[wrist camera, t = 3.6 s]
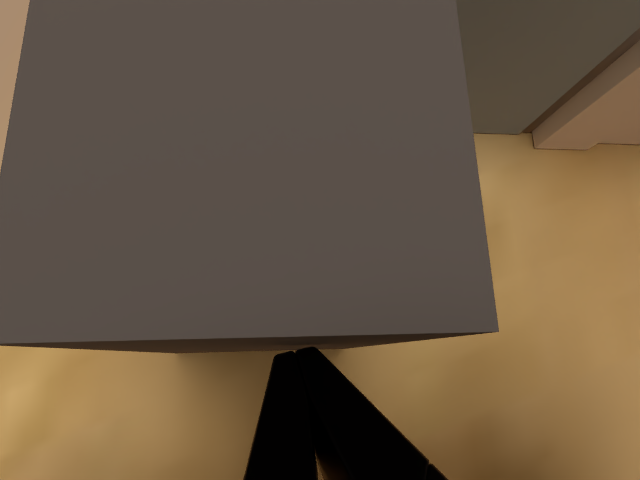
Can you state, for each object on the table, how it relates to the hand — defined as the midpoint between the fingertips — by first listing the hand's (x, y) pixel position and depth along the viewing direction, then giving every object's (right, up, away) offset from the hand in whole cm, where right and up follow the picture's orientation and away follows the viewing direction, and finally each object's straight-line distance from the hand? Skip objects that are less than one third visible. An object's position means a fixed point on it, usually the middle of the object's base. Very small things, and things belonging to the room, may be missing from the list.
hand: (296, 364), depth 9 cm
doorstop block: (-2, +2, +8) cm, 8 cm away
